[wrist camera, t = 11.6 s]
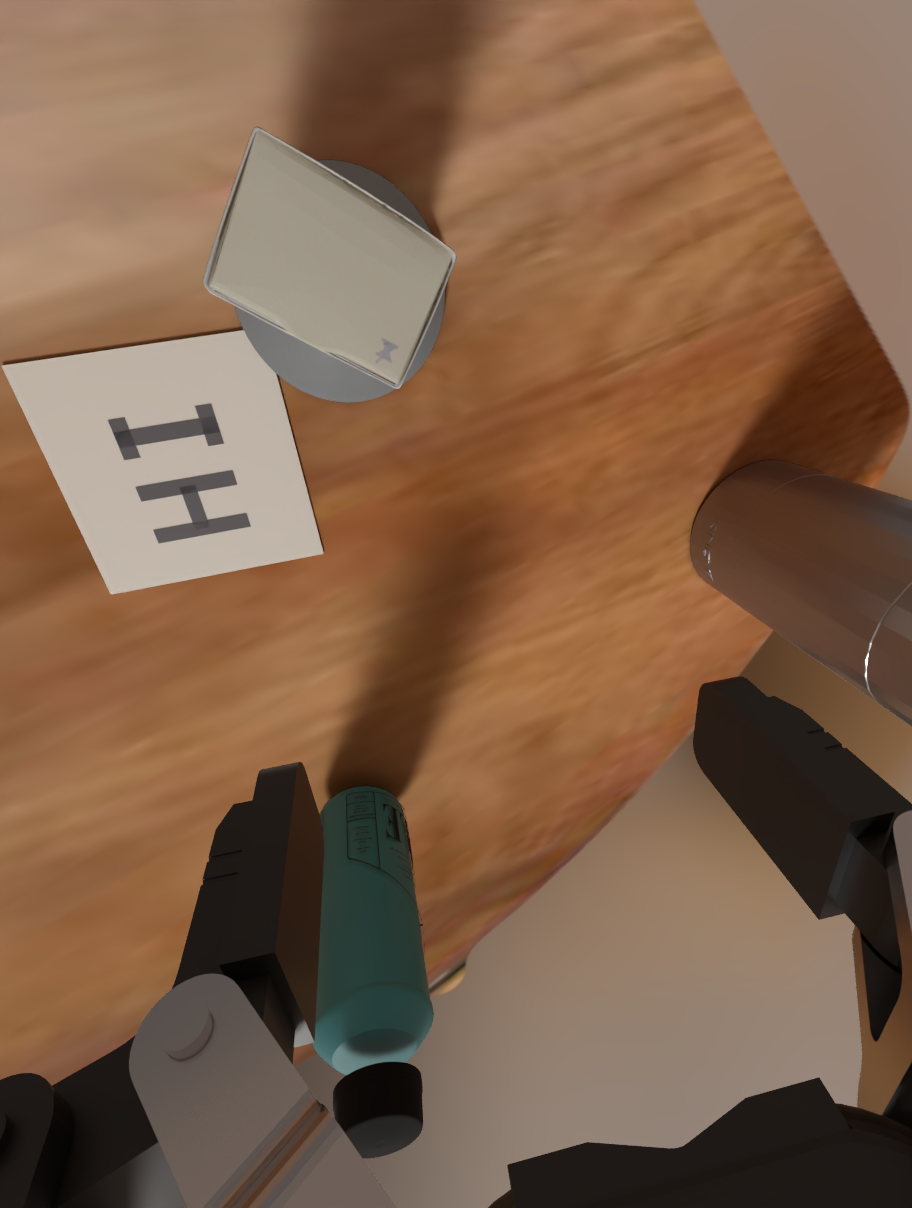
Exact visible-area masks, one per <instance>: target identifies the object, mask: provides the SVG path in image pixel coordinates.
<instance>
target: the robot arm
mask: <svg viewBox="0 0 912 1208" xmlns="http://www.w3.org/2000/svg"><path fill="white" fill-rule="evenodd" d="M690 555H691V559H692V562H693V566H694V568H695V569H696V571H697V573H698V575H699V576H700V577H701V578H702V579H703V580H704V581H705V582H706V583H708V584H709V585H710V586H712V587H713V588H715V589H716V590H718V591H719V592H720V593H722V594H723V595H725V596H726V597H728V598H729V599H730V600H732V601H733V602H735V603H736V604H737V605H739V606H740V607H741V608H743V609H744V610H746V611H747V612H748V613H750V614H751V615H753V616H754V617H756V618H757V619H758V620H760V621H761V622H763V623H764V624H766V625H767V626H768V627H770V628H771V629H773V630H774V631H776V632H777V633H779V634H780V635H781V636H783V637H784V638H786V639H787V640H789V641H790V642H791V643H793V644H794V645H796V646H797V647H799V648H800V649H801V650H803V651H804V652H806V653H807V654H809V655H810V656H811V657H813V658H814V659H816V660H817V661H819V662H820V663H822V664H823V665H824V666H826V667H827V668H829V669H830V670H832V671H833V672H834V673H836V674H837V675H839V676H840V677H841V678H843V679H844V680H846V681H847V682H849V683H850V684H851V685H853V686H854V687H856V688H857V689H859V690H860V691H861V692H863V693H864V694H866V695H867V696H869V697H870V698H872V699H873V700H874V701H876V702H877V703H879V704H880V705H882V706H883V707H884V708H886V709H888V710H889V711H890V712H892V713H893V714H895V715H896V716H898V717H899V718H901V719H902V720H903V721H905V722H906V723H908V724H909V725H910V726H912V500H909V499H906V498H903V497H899V496H896V495H892V494H890V493H886V492H883V491H880V490H877V489H874V488H870V487H867V486H864V485H861V484H857V483H854V482H851V481H848V480H844V479H841V478H838V477H835V476H832V475H829V474H825V473H822V472H819V471H815V470H812V469H809V468H805V467H802V466H799V465H796V464H792V463H789V462H786V461H781V460H766V461H761V462H756V463H753V464H751V465H748V466H746V467H743V468H741V469H739V470H738V471H736V472H735V473H733V474H732V475H730V476H728V477H727V478H726V479H725V480H724V481H723V482H722V483H720V484H719V485H718V486H717V487H716V488H715V489H714V491H713V492H712V493H711V494H710V495H709V497H708V498H707V499H706V500H705V502H704V504H703V506H702V507H701V509H700V511H699V512H698V514H697V517H696V520H695V522H694V525H693V528H692V533H691V539H690ZM693 747H694V753H695V756H696V759H697V762H698V764H699V766H700V768H701V769H702V771H703V773H704V774H705V775H706V776H707V778H708V779H709V780H710V781H711V783H712V784H713V785H714V787H715V788H716V789H717V790H718V792H719V793H720V794H721V796H722V797H723V798H724V799H725V800H726V802H727V803H728V804H729V806H730V807H731V808H732V810H733V811H734V812H735V813H736V815H737V816H738V817H739V818H740V819H741V821H742V822H743V824H744V825H745V826H746V827H747V829H748V830H749V831H750V833H751V834H752V835H753V836H754V838H755V839H756V840H757V841H758V843H759V844H760V845H761V846H762V848H763V849H764V850H765V852H766V853H767V854H768V855H769V857H770V858H771V859H772V860H773V862H774V863H775V864H776V865H777V867H778V868H779V869H780V871H781V872H782V873H783V874H784V876H785V877H786V878H787V880H788V881H789V882H790V883H791V885H792V886H793V887H794V889H795V890H796V891H797V892H798V894H799V895H800V896H801V897H802V899H803V900H804V901H805V903H806V904H807V905H808V906H809V908H810V909H811V910H812V911H813V913H814V914H815V915H816V917H817V918H818V919H819V920H820V919H824V918H827V917H832V916H835V915H840V914H843V913H845V914H846V915H847V916H848V917H849V918H850V920H851V921H852V922H853V923H854V924H855V927H854V930H853V933H852V944H853V955H854V966H855V977H856V988H857V999H858V1010H859V1021H860V1032H861V1043H862V1065H861V1073H860V1079H859V1086H858V1100H857V1107H852V1106H847V1105H843V1104H835V1102H834V1101H833V1099H832V1097H831V1096H830V1094H829V1093H828V1091H827V1089H826V1088H825V1086H824V1085H823V1083H822V1081H821V1080H820V1078H815V1079H812V1080H808V1081H805V1082H801V1083H798V1084H794V1085H790V1086H787V1087H783V1088H780V1089H776V1090H773V1091H769V1092H766V1093H762V1094H759V1095H755V1096H751V1097H748V1098H745V1099H744V1100H743V1101H741V1102H740V1103H739V1104H737V1105H736V1106H735V1107H734V1108H732V1109H731V1110H730V1111H728V1112H727V1113H726V1114H725V1115H723V1116H722V1117H721V1118H719V1119H718V1120H717V1121H716V1122H714V1123H713V1124H712V1125H710V1126H709V1127H708V1128H707V1129H706V1130H704V1131H703V1132H701V1133H700V1134H699V1135H698V1136H696V1137H695V1138H694V1139H692V1140H691V1141H690V1142H689V1143H687V1144H686V1145H684V1146H682V1147H679V1148H674V1149H668V1148H655V1147H641V1146H628V1145H616V1144H603V1143H589V1142H587V1143H583V1144H580V1145H576V1146H573V1147H569V1148H566V1149H562V1150H558V1151H555V1152H551V1153H548V1154H544V1155H541V1156H537V1157H533V1158H530V1159H527V1160H523V1161H519V1162H516V1163H512V1164H509V1165H507V1166H508V1172H509V1179H510V1185H511V1190H509V1191H508V1192H507V1193H506V1194H504V1195H503V1196H501V1197H500V1198H499V1199H497V1200H496V1201H495V1202H493V1204H491V1205H490V1207H488V1208H912V804H911V803H910V802H909V801H908V800H906V799H905V798H904V797H903V796H902V795H901V794H899V793H898V792H897V791H896V790H895V789H894V788H892V787H891V786H890V785H889V784H888V783H887V782H885V781H884V780H883V779H882V778H881V777H880V776H878V775H877V774H876V773H875V772H874V771H872V770H871V769H870V768H869V767H868V766H867V765H866V764H864V763H863V762H862V761H861V760H860V759H859V758H857V757H856V756H855V755H854V754H853V753H852V752H850V751H849V750H848V749H847V748H843V747H842V744H841V743H840V742H838V740H836V739H835V738H834V737H833V736H832V735H831V734H829V733H828V732H827V733H825V732H824V728H822V727H821V726H820V725H819V724H818V723H817V722H815V721H814V720H813V719H812V718H811V717H810V716H808V715H807V714H806V713H805V712H804V711H803V710H801V709H799V708H797V707H795V706H793V705H791V704H789V703H787V702H785V701H783V700H781V699H779V698H777V697H775V696H772V697H767V696H766V695H765V694H763V693H762V692H761V691H760V690H759V689H758V688H757V687H756V686H755V685H753V684H752V683H751V682H750V681H749V680H748V679H746V678H744V677H734V678H729V679H723V680H718V681H713V682H708V683H704V684H703V685H702V686H701V688H700V690H699V697H698V705H697V713H696V721H695V729H694V737H693ZM323 863H324V838H323V829H322V823H321V819H320V815H319V812H318V809H317V806H316V803H315V799H314V796H313V793H312V790H311V787H310V784H309V780H308V777H307V774H306V771H305V768H304V766H303V764H302V763H301V762H297V763H292V764H287V765H282V766H277V767H272V768H267V769H262V770H260V772H259V774H258V777H257V782H256V787H255V791H254V796H253V801H248V802H243V803H238V804H234V805H233V806H232V807H231V809H230V810H229V812H228V813H227V815H226V816H225V817H224V819H223V820H222V822H221V823H220V825H219V826H218V827H217V829H216V831H215V835H214V839H213V842H212V846H211V850H210V854H209V862H207V865H206V869H205V872H204V876H203V885H201V887H200V891H199V895H198V899H197V903H196V906H195V910H194V914H193V918H192V921H191V925H190V929H189V933H188V936H187V940H186V944H185V948H184V952H183V955H182V959H181V963H180V967H179V970H178V974H177V977H176V980H175V983H174V985H173V987H172V989H171V990H170V991H169V992H168V993H167V994H166V995H164V996H163V997H162V998H161V999H160V1000H159V1001H158V1002H157V1003H156V1004H155V1006H154V1007H153V1008H152V1009H151V1010H150V1012H149V1013H148V1014H147V1016H146V1017H145V1019H144V1020H143V1022H142V1024H141V1025H140V1027H139V1029H138V1031H137V1033H136V1035H135V1036H134V1037H133V1038H131V1039H130V1040H129V1041H127V1042H126V1043H125V1044H123V1045H122V1046H120V1047H119V1048H117V1049H115V1050H114V1051H112V1052H110V1053H109V1054H107V1055H105V1056H103V1057H102V1058H100V1059H98V1060H96V1061H95V1062H93V1063H91V1064H89V1065H88V1066H86V1067H84V1068H82V1069H81V1070H79V1071H77V1072H75V1073H74V1074H72V1075H70V1076H68V1077H67V1078H65V1079H63V1080H61V1081H60V1082H58V1083H56V1084H54V1085H53V1086H51V1084H50V1083H49V1082H48V1081H47V1080H46V1079H44V1078H43V1077H41V1076H40V1075H37V1074H33V1073H21V1074H17V1075H12V1076H9V1077H7V1078H4V1079H2V1080H0V1208H183V1207H185V1206H186V1205H187V1208H396V1206H395V1205H394V1203H393V1202H392V1201H391V1199H390V1197H389V1196H388V1195H387V1193H386V1192H385V1191H384V1189H383V1187H382V1186H381V1184H380V1183H379V1182H378V1180H377V1179H376V1177H375V1176H374V1174H373V1173H372V1172H371V1170H370V1169H369V1167H368V1166H367V1164H366V1163H365V1161H364V1160H363V1159H362V1157H361V1156H360V1154H359V1153H358V1151H357V1150H356V1148H355V1147H354V1146H353V1144H352V1143H351V1141H350V1140H349V1138H348V1137H347V1135H346V1134H345V1133H344V1131H343V1130H342V1128H341V1127H340V1125H339V1124H338V1123H337V1121H336V1120H335V1119H334V1117H333V1116H332V1115H331V1113H330V1112H329V1111H328V1110H327V1108H326V1107H325V1106H324V1105H323V1104H320V1103H319V1102H318V1100H317V1099H316V1098H315V1097H314V1095H313V1094H312V1092H311V1091H310V1089H309V1088H308V1087H307V1085H306V1084H305V1082H304V1081H303V1079H302V1078H301V1076H300V1075H299V1074H298V1072H297V1071H296V1069H295V1068H294V1066H293V1065H292V1064H293V1051H294V1047H298V1046H302V1045H306V1044H310V1043H314V1042H315V1024H316V1003H317V983H318V963H319V943H320V923H321V903H322V883H323Z"/></svg>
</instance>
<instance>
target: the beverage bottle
mask: <svg viewBox="0 0 912 1208" xmlns="http://www.w3.org/2000/svg"><path fill="white" fill-rule="evenodd" d="M401 806H402V805H401V804H400V803H399V802H398V800H397V799H396V798H395V797H394V796H393V795H392V794H391V793H389V792H388V791H386V790H384V789H381V788H377V787H370V786H362V787H354V788H350V789H347V790H344V791H342V792H340V793H338V794H336V795H335V796H333V797H332V798H331V799H330V800H329V801H328V802H327V803H326V804H325V806H324V807H323V809H322V811H321V814H319V815H320V819H321V823H322V829H323V838H324V863H323V883H322V903H321V923H320V943H319V963H318V983H317V1003H316V1024H315V1042H314V1043H312V1044H313V1047H314V1049H315V1050H316V1052H317V1053H318V1054H319V1055H320V1056H321V1057H322V1058H323V1059H324V1060H325V1061H326V1062H327V1063H328V1064H330V1065H331V1066H332V1067H333V1068H334V1069H336V1070H338V1071H339V1072H341V1073H343V1074H346V1075H347V1076H345V1077H344V1078H343V1079H342V1080H340V1082H339V1083H338V1084H337V1085H336V1087H335V1088H334V1091H333V1111H334V1114H335V1120H336V1121H337V1123H338V1124H339V1125H340V1127H341V1128H342V1130H343V1131H344V1133H345V1134H346V1135H347V1137H348V1138H349V1140H350V1141H351V1143H352V1144H353V1146H354V1147H355V1148H356V1150H357V1151H358V1153H359V1154H360V1156H361V1157H362V1158H375V1157H380V1156H384V1155H388V1154H391V1153H393V1152H396V1151H398V1150H400V1149H402V1148H404V1147H406V1146H407V1145H409V1144H411V1143H412V1142H413V1141H414V1140H415V1139H416V1138H417V1137H418V1136H419V1135H420V1133H421V1131H422V1127H423V1110H422V1079H421V1073H420V1071H419V1070H418V1069H417V1068H416V1067H415V1066H413V1065H411V1064H408V1063H405V1062H406V1061H407V1060H408V1059H410V1058H411V1057H412V1055H413V1054H414V1053H415V1051H416V1050H417V1049H418V1048H419V1046H420V1045H421V1043H422V1042H423V1040H424V1039H425V1037H426V1035H427V1034H428V1032H429V1030H430V1027H431V1025H432V1022H433V1015H434V1013H433V1006H432V1002H431V1000H430V994H429V988H428V981H427V974H426V968H425V961H424V954H423V947H422V938H421V929H420V926H423V924H421V925H420V922H419V915H418V908H417V901H416V895H415V888H416V887H415V888H414V881H413V876H414V874H415V873H414V874H413V873H412V869H413V860H412V852H411V845H410V838H409V836H408V833H409V831H408V830H407V826H408V825H407V822H406V819H405V818H404V814H403V810H402V807H401ZM403 809H404V808H403ZM405 817H406V816H405ZM404 819H405V820H404ZM405 825H406V826H405ZM406 831H407V834H406ZM407 838H408V839H407ZM409 851H410V854H409ZM410 856H411V860H412V862H411V861H410ZM411 863H412V867H411ZM413 871H414V870H413ZM419 914H420V913H419ZM420 917H421V916H420ZM421 921H422V920H421ZM423 932H424V931H423ZM424 947H425V942H424Z"/></svg>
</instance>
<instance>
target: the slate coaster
mask: <svg viewBox="0 0 912 1208" xmlns="http://www.w3.org/2000/svg"><path fill="white" fill-rule="evenodd" d="M316 161H318V162H320V163H321V164H323V165H325V166H326V167H328V168H330V169H331V170H333V171H335V172H336V173H338V174H340V175H341V176H343V177H345V178H346V179H348V180H349V181H351V182H353V183H354V184H356V185H357V186H359V187H361V188H362V189H364V190H365V191H367V192H369V193H370V194H372V195H373V196H375V197H376V198H378V199H380V200H381V201H383V202H385V203H386V204H388V205H389V206H391V207H392V208H394V209H395V210H397V211H398V212H400V213H402V214H403V215H404V216H406V217H407V218H409V219H411V220H412V221H413V222H415V223H416V224H418V225H419V226H421V227H422V228H424V229H425V230H426V231H428V232H429V233H430V234H431V231H430V230H429V228H428V226H427V224H426V222H425V221H424V219H423V217H422V216H421V214H420V213H419V212H418V210H417V209H416V207H415V206H414V205H413V203H412V202H411V201H410V200H409V199H408V198H407V197H406V196H405V195H404V194H403V193H402V192H401V191H400V190H399V189H398V188H397V187H395V186H394V185H393V184H392V183H391V182H389V181H388V180H386V179H385V178H383V177H382V176H380V175H378V174H377V173H375V172H373V171H371V170H369V169H366V168H364V167H362V166H359V165H356V164H352V163H349V162H344V161H336V160H316ZM444 302H445V290H444V292H443V294H442V297H441V299H440V301H439V304H438V306H437V309H436V311H435V313H434V316H433V318H432V320H431V323H430V325H429V327H428V329H427V331H426V334H425V336H424V338H423V340H422V342H421V345H420V347H419V349H418V351H417V354H416V356H415V358H414V360H413V362H412V364H411V366H410V368H409V370H408V373H407V375H406V377H405V379H404V381H403V383H402V384H404V383H405V382H406V381H408V380H409V379H410V378H411V377H412V376H413V375H414V374H415V373H416V372H417V371H418V370H419V368H420V367H421V366H422V364H423V363H424V362H425V360H426V359H427V357H428V355H429V354H430V352H431V350H432V349H433V346H434V344H435V341H436V339H437V337H438V334H439V330H440V327H441V323H442V318H443V312H444ZM235 309H236V312H237V314H238V317H239V320H240V323H241V325H242V327H243V329H244V331H245V333H246V335H247V337H248V339H249V341H250V342H251V344H252V345H253V347H254V349H255V350H256V351H257V353H258V354H259V355H260V357H261V358H262V359H263V360H264V362H265V363H266V364H267V365H268V366H269V367H270V368H271V369H272V370H273V371H274V372H275V373H276V374H278V375H279V376H280V377H281V378H283V379H284V380H285V381H286V382H288V383H289V384H291V385H293V386H294V387H296V388H297V389H299V390H301V391H303V392H305V393H308V394H310V395H312V396H315V397H318V398H321V399H325V400H330V401H336V402H360V401H366V400H371V399H375V398H378V397H380V396H383V395H385V394H388V393H390V392H391V391H393V390H395V388H393V387H391V386H389V385H387V384H385V383H383V382H381V381H380V380H378V379H376V378H373V377H371V376H369V375H367V374H365V373H364V372H362V371H360V370H358V369H356V368H354V367H352V366H350V365H348V364H346V363H344V362H342V361H340V360H338V359H336V358H334V357H332V356H330V355H328V354H326V353H324V352H323V351H321V350H319V349H317V348H315V347H313V346H311V345H309V344H307V343H305V342H303V341H301V340H299V339H297V338H295V337H293V336H291V335H289V334H287V333H285V332H283V331H281V330H280V329H278V328H276V327H274V326H272V325H270V324H268V323H266V322H264V321H262V320H260V319H259V318H257V317H255V316H253V315H251V314H249V313H247V312H245V311H243V310H241V309H240V308H238V307H236V306H235Z"/></svg>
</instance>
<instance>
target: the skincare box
mask: <svg viewBox="0 0 912 1208" xmlns="http://www.w3.org/2000/svg"><path fill="white" fill-rule="evenodd" d="M455 262H456V254H455V252H454V251H453V250H452V249H451V248H450V247H448V246H447V245H445V244H444V243H443V242H441V241H440V240H439V239H438V238H436V237H435V236H433V235H432V234H430V233H429V232H428V231H426V230H425V229H424V228H422V227H421V226H419V225H418V224H416V223H415V222H413V221H412V220H411V219H409V218H407V217H406V216H404V215H403V214H402V213H400V212H398V211H397V210H395V209H394V208H392V207H391V206H389V205H388V204H386V203H385V202H383V201H381V200H380V199H378V198H376V197H375V196H373V195H372V194H370V193H369V192H367V191H365V190H364V189H362V188H361V187H359V186H357V185H356V184H354V183H353V182H351V181H349V180H348V179H346V178H345V177H343V176H341V175H340V174H338V173H336V172H335V171H333V170H331V169H330V168H328V167H326V166H325V165H323V164H321V163H320V162H318V161H316V160H315V159H313V158H311V157H310V156H308V155H306V154H304V153H303V152H301V151H299V150H298V149H296V148H295V147H293V146H291V145H289V144H287V143H286V142H284V141H282V140H280V139H279V138H277V137H275V136H273V135H272V134H270V133H268V132H267V131H265V130H263V129H262V128H260V127H255V128H254V129H253V130H252V132H251V135H250V138H249V141H248V144H247V147H246V150H245V153H244V156H243V159H242V161H241V164H240V167H239V170H238V173H237V175H236V178H235V181H234V184H233V186H232V189H231V193H230V195H229V198H228V201H227V205H226V207H225V211H224V214H223V217H222V220H221V223H220V226H219V229H218V232H217V235H216V238H215V241H214V244H213V248H212V251H211V254H210V258H209V261H208V264H207V267H206V271H205V274H204V278H203V283H204V286H205V288H206V289H207V290H208V292H210V293H211V294H213V295H215V296H217V297H219V298H221V299H223V300H225V301H226V302H228V303H230V304H232V305H234V306H236V307H238V308H240V309H241V310H243V311H245V312H247V313H249V314H251V315H253V316H255V317H257V318H259V319H260V320H262V321H264V322H266V323H268V324H270V325H272V326H274V327H276V328H278V329H280V330H281V331H283V332H285V333H287V334H289V335H291V336H293V337H295V338H297V339H299V340H301V341H303V342H305V343H307V344H309V345H311V346H313V347H315V348H317V349H319V350H321V351H323V352H324V353H326V354H328V355H330V356H332V357H334V358H336V359H338V360H340V361H342V362H344V363H346V364H348V365H350V366H352V367H354V368H356V369H358V370H360V371H362V372H364V373H365V374H367V375H369V376H371V377H373V378H376V379H378V380H380V381H381V382H383V383H385V384H387V385H389V386H391V387H393V388H395V389H399V388H400V387H401V385H402V383H403V381H404V379H405V377H406V375H407V373H408V370H409V368H410V366H411V364H412V362H413V360H414V358H415V356H416V354H417V351H418V349H419V347H420V345H421V342H422V340H423V338H424V336H425V334H426V331H427V329H428V327H429V325H430V323H431V320H432V318H433V316H434V313H435V311H436V309H437V306H438V304H439V301H440V299H441V297H442V294H443V292H444V290H445V287H446V284H447V282H448V279H449V276H450V274H451V271H452V269H453V266H454V264H455Z"/></svg>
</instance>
